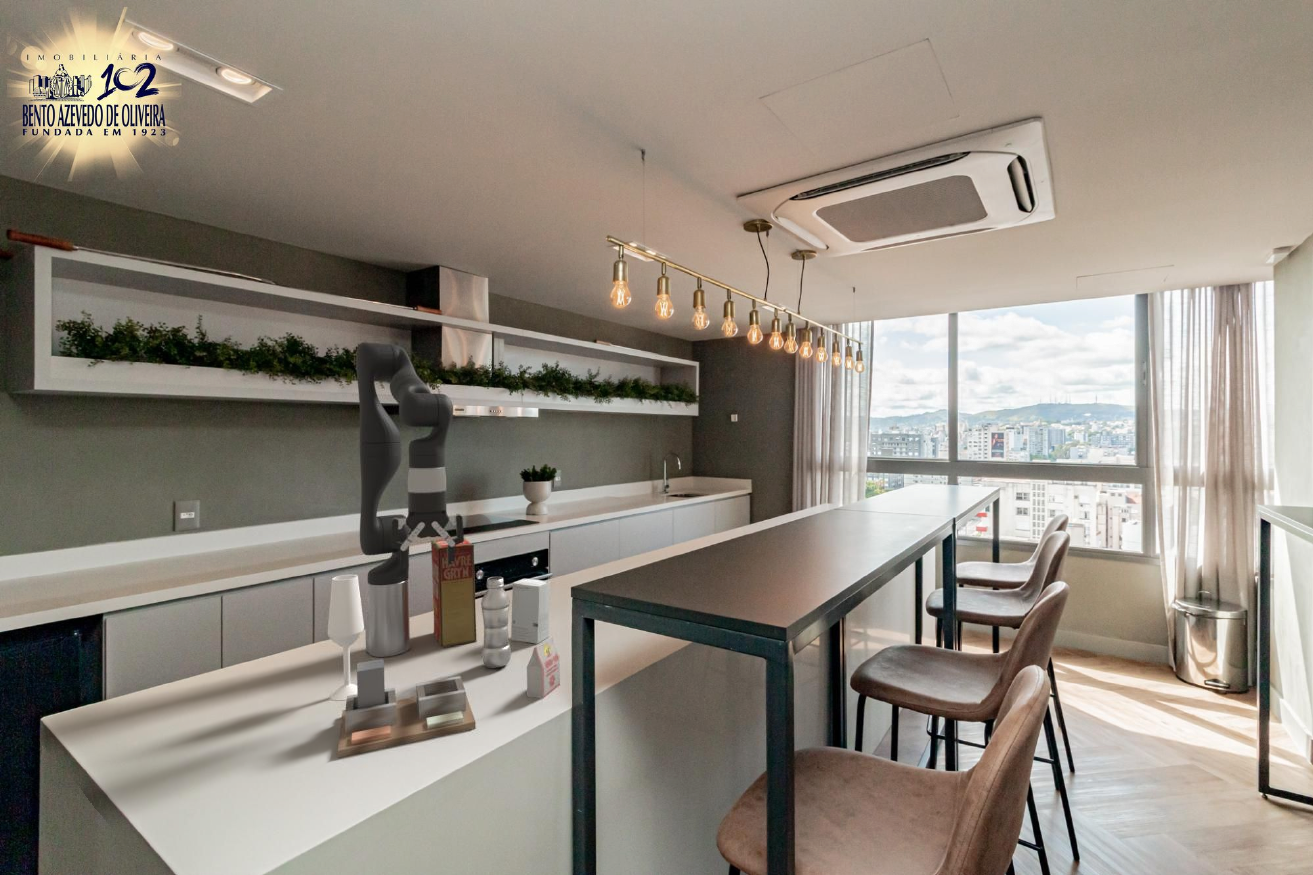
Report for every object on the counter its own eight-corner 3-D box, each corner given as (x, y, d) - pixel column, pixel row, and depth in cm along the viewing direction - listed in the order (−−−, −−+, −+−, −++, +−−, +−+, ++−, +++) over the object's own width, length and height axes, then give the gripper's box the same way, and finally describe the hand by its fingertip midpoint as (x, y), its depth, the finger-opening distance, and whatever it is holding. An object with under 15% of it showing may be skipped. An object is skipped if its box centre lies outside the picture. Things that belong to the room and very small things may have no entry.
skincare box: (510, 640, 154) (509, 583, 154) (523, 633, 160) (522, 577, 159) (539, 644, 151) (538, 585, 151) (551, 636, 157) (550, 579, 157)
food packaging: (431, 632, 161) (430, 539, 161) (468, 626, 166) (466, 536, 165) (439, 648, 149) (437, 547, 149) (478, 641, 154) (476, 543, 154)
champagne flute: (350, 701, 120) (347, 581, 120) (321, 699, 122) (318, 580, 121) (372, 687, 127) (370, 573, 127) (344, 685, 128) (342, 572, 128)
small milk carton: (527, 695, 122) (526, 646, 122) (544, 682, 128) (544, 635, 128) (543, 698, 121) (542, 648, 121) (559, 685, 127) (559, 637, 127)
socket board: (337, 757, 99) (337, 729, 99) (342, 716, 114) (342, 691, 114) (475, 728, 109) (475, 702, 109) (463, 693, 123) (463, 670, 123)
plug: (358, 727, 107) (357, 671, 107) (358, 716, 111) (357, 663, 111) (385, 721, 109) (384, 667, 109) (384, 711, 113) (383, 658, 113)
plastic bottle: (515, 660, 141) (513, 575, 141) (505, 672, 134) (503, 582, 134) (488, 659, 141) (487, 574, 141) (477, 671, 135) (475, 582, 134)
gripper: (390, 492, 120) (391, 573, 120) (464, 489, 126) (465, 566, 126) (390, 488, 127) (391, 564, 127) (460, 485, 132) (461, 558, 133)
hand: (428, 565), depth 127 cm, fingers open, 8 cm apart
